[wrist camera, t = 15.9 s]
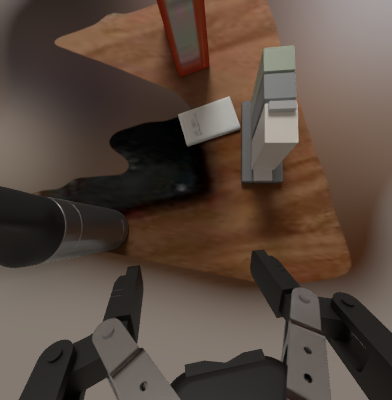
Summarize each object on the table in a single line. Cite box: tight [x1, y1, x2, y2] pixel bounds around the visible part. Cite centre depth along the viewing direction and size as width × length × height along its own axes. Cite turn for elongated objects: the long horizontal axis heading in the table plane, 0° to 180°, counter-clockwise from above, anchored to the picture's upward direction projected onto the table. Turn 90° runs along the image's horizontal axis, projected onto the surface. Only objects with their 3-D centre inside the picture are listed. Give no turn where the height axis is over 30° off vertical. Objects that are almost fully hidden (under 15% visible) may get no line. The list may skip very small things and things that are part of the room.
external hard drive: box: [178, 97, 240, 147], centre depth 43 cm, size 2×8×12 cm
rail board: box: [241, 45, 297, 183], centre depth 34 cm, size 8×18×14 cm, turn 178°
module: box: [251, 100, 298, 170], centre depth 32 cm, size 5×6×13 cm
